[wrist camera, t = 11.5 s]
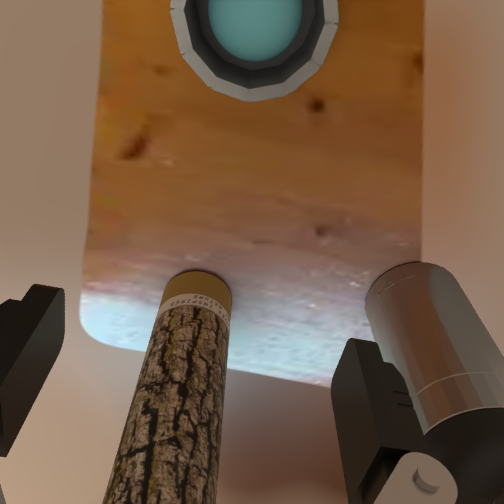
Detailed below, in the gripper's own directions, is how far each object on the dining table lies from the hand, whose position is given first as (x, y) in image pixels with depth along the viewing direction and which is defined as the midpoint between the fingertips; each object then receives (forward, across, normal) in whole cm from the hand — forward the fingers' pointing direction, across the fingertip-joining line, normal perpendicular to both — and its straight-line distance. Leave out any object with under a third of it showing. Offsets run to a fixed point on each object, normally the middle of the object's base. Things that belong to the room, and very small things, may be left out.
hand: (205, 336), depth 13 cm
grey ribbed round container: (+28, 0, -6) cm, 29 cm away
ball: (+24, 0, -6) cm, 25 cm away
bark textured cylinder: (+28, 0, +20) cm, 35 cm away
